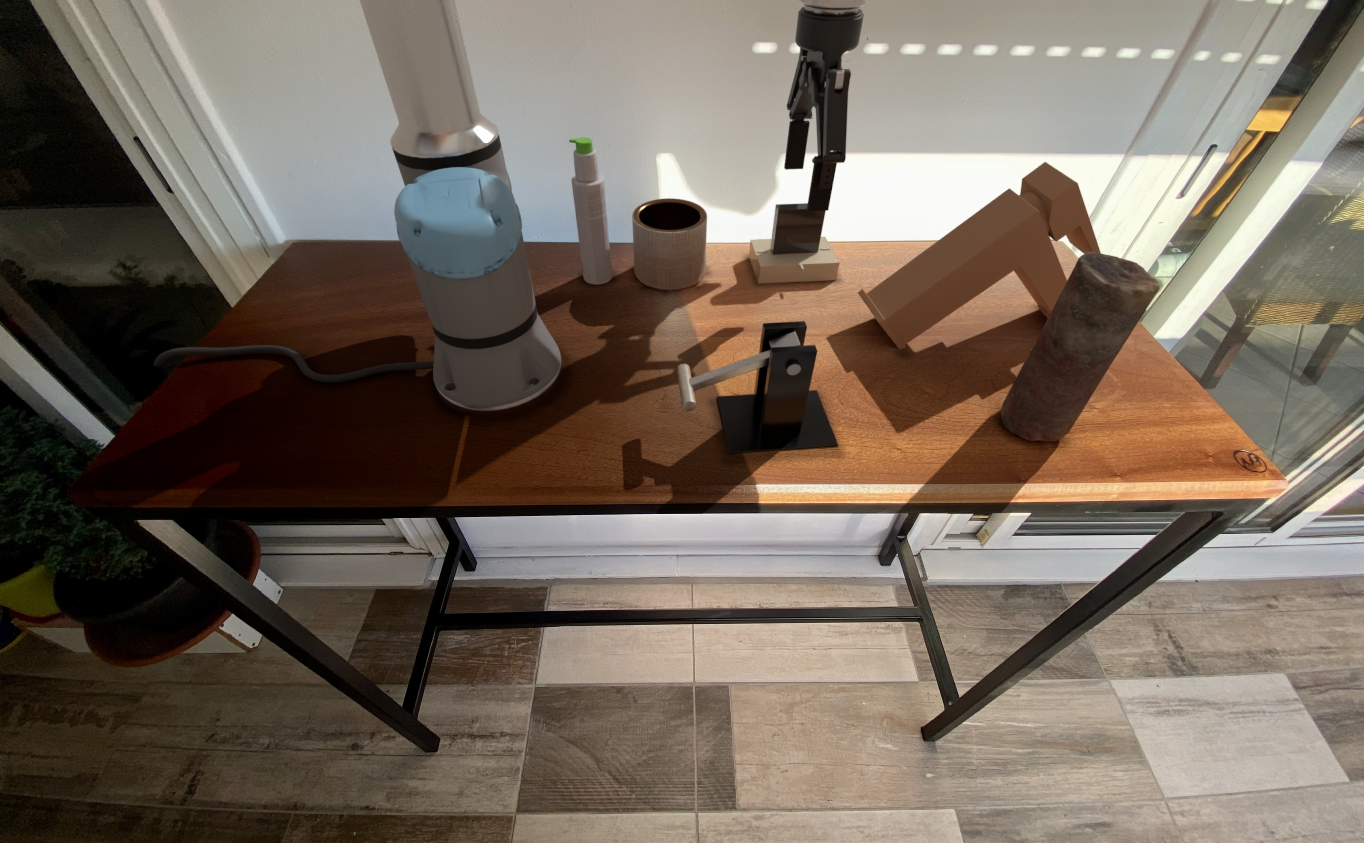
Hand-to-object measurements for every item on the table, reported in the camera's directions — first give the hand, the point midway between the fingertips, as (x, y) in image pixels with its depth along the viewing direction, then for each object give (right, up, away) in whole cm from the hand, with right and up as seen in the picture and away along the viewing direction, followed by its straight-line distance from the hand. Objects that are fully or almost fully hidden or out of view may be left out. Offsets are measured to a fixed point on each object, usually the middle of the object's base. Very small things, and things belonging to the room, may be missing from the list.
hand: (804, 188), depth 84 cm
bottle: (-30, -11, +7) cm, 33 cm away
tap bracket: (-7, -34, -16) cm, 38 cm away
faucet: (+21, -20, -2) cm, 30 cm away
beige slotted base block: (0, -9, +9) cm, 13 cm away
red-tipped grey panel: (0, -7, +7) cm, 10 cm away
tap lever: (-11, -28, -22) cm, 37 cm away
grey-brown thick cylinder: (+23, -33, -15) cm, 43 cm away
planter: (-19, -10, +8) cm, 23 cm away
